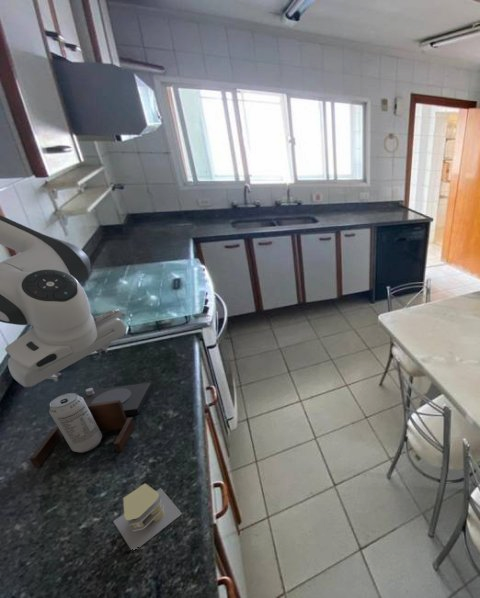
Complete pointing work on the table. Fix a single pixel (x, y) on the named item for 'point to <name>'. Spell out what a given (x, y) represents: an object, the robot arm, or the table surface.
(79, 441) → the energy drink can
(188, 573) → the table surface
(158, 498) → the stacked layers on plate
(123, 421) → the brown wooden stand
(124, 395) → the stove
